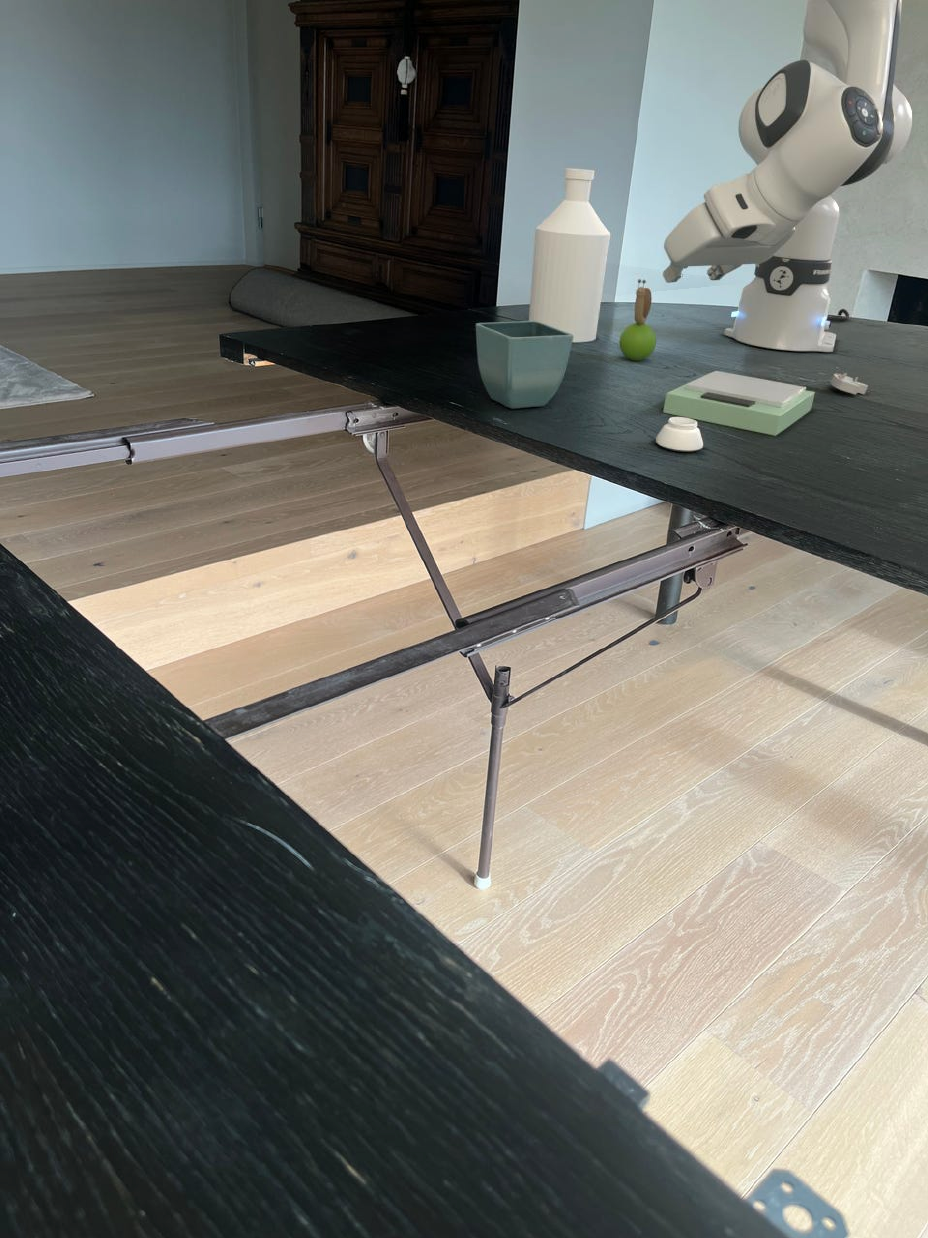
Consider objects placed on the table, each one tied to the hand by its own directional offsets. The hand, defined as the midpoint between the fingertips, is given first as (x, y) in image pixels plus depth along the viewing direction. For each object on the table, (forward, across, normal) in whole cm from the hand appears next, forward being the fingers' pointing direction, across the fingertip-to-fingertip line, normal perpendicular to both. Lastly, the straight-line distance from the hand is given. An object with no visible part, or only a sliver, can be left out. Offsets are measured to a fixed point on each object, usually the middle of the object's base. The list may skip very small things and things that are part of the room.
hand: (690, 277), depth 133 cm
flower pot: (+7, +34, +12) cm, 37 cm away
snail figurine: (+15, 0, +4) cm, 15 cm away
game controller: (-2, -13, +21) cm, 25 cm away
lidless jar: (-9, +30, +28) cm, 41 cm away
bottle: (+28, -3, -10) cm, 30 cm away
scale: (-4, +10, +23) cm, 25 cm away
